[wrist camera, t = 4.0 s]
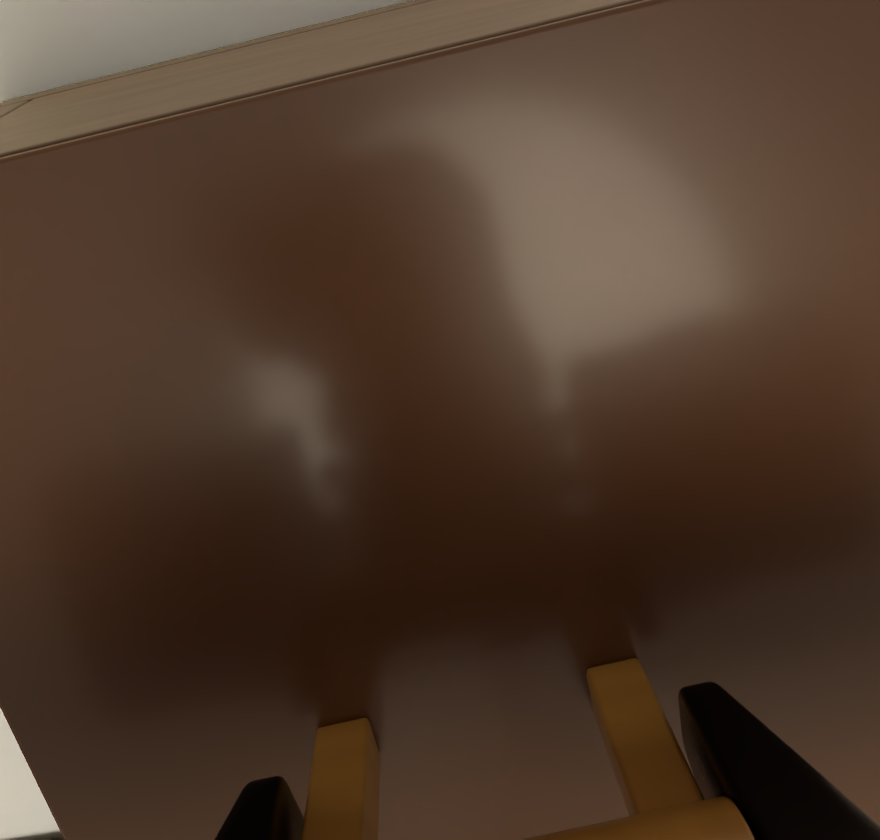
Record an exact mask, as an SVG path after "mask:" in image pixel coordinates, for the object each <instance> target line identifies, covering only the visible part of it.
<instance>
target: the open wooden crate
mask: <svg viewBox="0 0 880 840" xmlns="http://www.w3.org/2000/svg"><path fill="white" fill-rule="evenodd" d="M640 1H644V0H412V1H408V2H404V3H400V4H396V5H392V6H388V7H384V8H380V9H376V10H372V11H368V12H364V13H360V14H356V15H351V16H347V17H343V18H339V19H335V20H331V21H327V22H323V23H319V24H315V25H311V26H307V27H303V28H299V29H295V30H291V31H287V32H282V33H278V34H274V35H270V36H266V37H262V38H258V39H254V40H250V41H246V42H242V43H238V44H234V45H230V46H226V47H222V48H218V49H213V50H209V51H205V52H201V53H197V54H193V55H189V56H185V57H181V58H177V59H173V60H169V61H165V62H161V63H157V64H153V65H149V66H144V67H140V68H136V69H132V70H128V71H124V72H120V73H116V74H112V75H108V76H104V77H100V78H96V79H92V80H88V81H84V82H80V83H75V84H71V85H67V86H63V87H59V88H55V89H51V90H47V91H43V92H39V93H35V94H31V95H27V96H23V97H19V98H15V99H11V100H6V101H3V102H1V103H0V158H1V157H5V156H10V155H14V154H18V153H22V152H26V151H30V150H34V149H38V148H42V147H46V146H50V145H55V144H59V143H63V142H67V141H71V140H75V139H79V138H83V137H87V136H91V135H96V134H100V133H104V132H108V131H112V130H116V129H120V128H124V127H128V126H132V125H136V124H141V123H145V122H149V121H153V120H157V119H161V118H165V117H169V116H173V115H177V114H181V113H186V112H190V111H194V110H198V109H202V108H206V107H210V106H214V105H218V104H222V103H226V102H231V101H235V100H239V99H243V98H247V97H251V96H255V95H259V94H263V93H267V92H271V91H276V90H280V89H284V88H288V87H292V86H296V85H300V84H304V83H308V82H312V81H316V80H321V79H325V78H329V77H333V76H337V75H341V74H345V73H349V72H353V71H357V70H361V69H366V68H370V67H374V66H378V65H382V64H386V63H390V62H394V61H398V60H402V59H406V58H411V57H415V56H419V55H423V54H427V53H431V52H435V51H439V50H443V49H447V48H451V47H456V46H460V45H464V44H468V43H472V42H476V41H480V40H484V39H488V38H492V37H496V36H501V35H505V34H509V33H513V32H517V31H521V30H525V29H529V28H533V27H537V26H541V25H546V24H550V23H554V22H558V21H562V20H566V19H570V18H574V17H578V16H582V15H586V14H591V13H595V12H599V11H603V10H607V9H611V8H615V7H619V6H623V5H627V4H631V3H636V2H640Z"/></svg>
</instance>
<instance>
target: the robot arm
mask: <svg viewBox="0 0 880 840" xmlns="http://www.w3.org/2000/svg"><path fill="white" fill-rule="evenodd" d="M678 699H679V710H680V720H681V731H682V738H683V743H684V747H685V751H686V754H687V757H688V760H689V763H690V766H691V769H692V772H693V775H694V777H695V780H696V782H697V785H698V787H699V789H700V791H701V793H702V795H703V797H704V800H706V799H710V798H715V797H720V796H724V797H728V798H729V799H731V800H732V801H733V802H734V804H735V805H736V806H737V808H738V809H739V811H740V812H741V814H742V815H743V817H744V819H745V820H746V822H747V824H748V826H749V828H750V830H751V832H752V834H753V836H754V838H755V840H880V825H879V824H877V823H876V822H875V821H874V820H873V819H872V818H871V817H869V816H868V815H867V814H866V813H865V812H864V811H863V810H861V809H860V808H859V807H858V806H857V805H856V804H855V803H853V802H852V801H851V800H850V799H849V798H848V797H847V796H845V795H844V794H843V793H842V792H841V791H840V790H839V789H837V788H836V787H835V786H834V785H833V784H832V783H831V782H829V781H828V780H827V779H826V778H825V777H824V776H823V775H821V774H820V773H819V772H818V771H817V770H816V769H815V768H813V767H812V766H811V765H810V764H809V763H808V762H807V761H805V760H804V759H803V758H802V757H801V756H800V755H799V754H798V753H796V752H795V751H794V750H793V749H792V748H791V747H790V746H788V745H787V744H786V743H785V742H784V741H783V740H782V739H780V738H779V737H778V736H777V735H776V734H775V733H774V732H772V731H771V730H770V729H769V728H768V727H767V726H766V725H764V724H763V723H762V722H761V721H760V720H759V719H758V718H756V717H755V716H754V715H753V714H752V713H751V712H750V711H748V710H747V709H746V708H745V707H744V706H743V705H742V704H740V703H739V702H738V701H737V700H736V699H735V698H734V697H732V696H731V695H730V694H729V693H728V692H727V691H726V690H724V689H723V688H722V687H721V686H720V685H718V684H717V683H714V682H703V683H699V684H694V685H690V686H685V687H683V688H681V689H680V690H679V694H678ZM303 822H304V817H303V815H302V812H301V810H300V808H299V806H298V804H297V802H296V800H295V798H294V796H293V794H292V792H291V790H290V788H289V786H288V784H287V782H286V781H285V779H284V778H283V777H281V776H273V777H269V778H264V779H259V780H255V781H252V782H249V783H248V784H247V785H246V786H245V787H244V788H243V790H242V791H241V793H240V795H239V797H238V798H237V800H236V802H235V804H234V806H233V807H232V809H231V811H230V813H229V814H228V816H227V818H226V820H225V822H224V823H223V825H222V827H221V829H220V830H219V832H218V834H217V836H216V838H215V839H214V840H301V836H302V829H303Z"/></svg>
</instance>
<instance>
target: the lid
mask: <svg viewBox="0 0 880 840" xmlns="http://www.w3.org/2000/svg"><path fill="white" fill-rule="evenodd" d="M703 682H714V683H717V684H718V685H720V686H721V687H722V688H723V689H724V690H726V691H727V692H728V693H729V694H730V695H731V696H732V697H734V698H735V699H736V700H737V701H738V702H739V703H740V704H742V705H743V706H744V707H745V708H746V709H747V710H748V711H750V712H751V713H752V714H753V715H754V716H755V717H756V718H758V719H759V720H760V721H761V722H762V723H763V724H764V725H766V726H767V727H768V728H769V729H770V730H771V731H772V732H774V733H775V734H776V735H777V736H778V737H779V738H780V739H782V740H783V741H784V742H785V743H786V744H787V745H788V746H790V747H791V748H792V749H793V750H794V751H795V752H796V753H798V754H799V755H800V756H801V757H802V758H803V759H804V760H805V761H807V762H808V763H809V764H810V765H811V766H812V767H813V768H815V769H816V770H817V771H818V772H819V773H820V774H821V775H823V776H824V777H825V778H826V779H827V780H828V781H829V782H831V783H832V784H833V785H834V786H835V787H836V788H837V789H839V790H840V791H841V792H842V793H843V794H844V795H845V796H847V797H848V798H849V799H850V800H851V801H852V802H853V803H855V804H856V805H857V806H858V807H859V808H860V809H861V810H863V811H864V812H865V813H866V814H867V815H868V816H869V817H871V818H872V819H873V820H874V821H875V822H876V823H877V824H879V825H880V0H644V1H640V2H636V3H631V4H627V5H623V6H619V7H615V8H611V9H607V10H603V11H599V12H595V13H591V14H586V15H582V16H578V17H574V18H570V19H566V20H562V21H558V22H554V23H550V24H546V25H541V26H537V27H533V28H529V29H525V30H521V31H517V32H513V33H509V34H505V35H501V36H496V37H492V38H488V39H484V40H480V41H476V42H472V43H468V44H464V45H460V46H456V47H451V48H447V49H443V50H439V51H435V52H431V53H427V54H423V55H419V56H415V57H411V58H406V59H402V60H398V61H394V62H390V63H386V64H382V65H378V66H374V67H370V68H366V69H361V70H357V71H353V72H349V73H345V74H341V75H337V76H333V77H329V78H325V79H321V80H316V81H312V82H308V83H304V84H300V85H296V86H292V87H288V88H284V89H280V90H276V91H271V92H267V93H263V94H259V95H255V96H251V97H247V98H243V99H239V100H235V101H231V102H226V103H222V104H218V105H214V106H210V107H206V108H202V109H198V110H194V111H190V112H186V113H181V114H177V115H173V116H169V117H165V118H161V119H157V120H153V121H149V122H145V123H141V124H136V125H132V126H128V127H124V128H120V129H116V130H112V131H108V132H104V133H100V134H96V135H91V136H87V137H83V138H79V139H75V140H71V141H67V142H63V143H59V144H55V145H50V146H46V147H42V148H38V149H34V150H30V151H26V152H22V153H18V154H14V155H10V156H5V157H1V158H0V707H1V709H2V711H3V713H4V716H5V718H6V720H7V722H8V724H9V726H10V728H11V730H12V732H13V734H14V736H15V738H16V740H17V742H18V744H19V746H20V749H21V751H22V753H23V755H24V757H25V759H26V761H27V763H28V765H29V767H30V769H31V771H32V773H33V775H34V777H35V779H36V782H37V784H38V786H39V788H40V790H41V792H42V794H43V796H44V798H45V800H46V802H47V804H48V806H49V808H50V810H51V812H52V815H53V817H54V819H55V821H56V823H57V825H58V827H59V829H60V831H61V833H62V835H63V837H64V839H65V840H214V839H215V838H216V836H217V834H218V832H219V830H220V829H221V827H222V825H223V823H224V822H225V820H226V818H227V816H228V814H229V813H230V811H231V809H232V807H233V806H234V804H235V802H236V800H237V798H238V797H239V795H240V793H241V791H242V790H243V788H244V787H245V786H246V785H247V784H248V783H249V782H252V781H255V780H259V779H264V778H269V777H273V776H281V777H283V778H284V779H285V781H286V782H287V784H288V786H289V788H290V790H291V792H292V794H293V796H294V798H295V800H296V802H297V804H298V806H299V808H300V810H301V812H302V815H303V817H304V822H303V829H302V836H301V840H755V838H754V836H753V834H752V832H751V830H750V828H749V826H748V824H747V822H746V820H745V819H744V817H743V815H742V814H741V812H740V811H739V809H738V808H737V806H736V805H735V804H734V802H733V801H732V800H731V799H729V798H728V797H724V796H720V797H715V798H710V799H706V800H704V797H703V795H702V793H701V791H700V789H699V787H698V785H697V782H696V780H695V777H694V775H693V772H692V769H691V766H690V763H689V760H688V757H687V754H686V751H685V747H684V743H683V738H682V731H681V720H680V710H679V699H678V694H679V690H680V689H681V688H683V687H685V686H690V685H694V684H699V683H703Z"/></svg>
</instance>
